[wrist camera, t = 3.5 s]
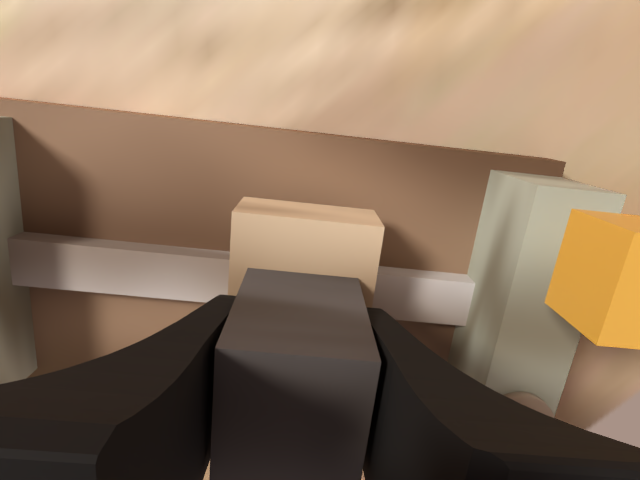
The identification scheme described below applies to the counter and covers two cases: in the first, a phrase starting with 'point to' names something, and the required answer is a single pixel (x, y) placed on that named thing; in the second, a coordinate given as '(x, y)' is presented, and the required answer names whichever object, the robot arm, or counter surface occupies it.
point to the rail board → (278, 184)
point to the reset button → (599, 277)
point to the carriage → (296, 343)
